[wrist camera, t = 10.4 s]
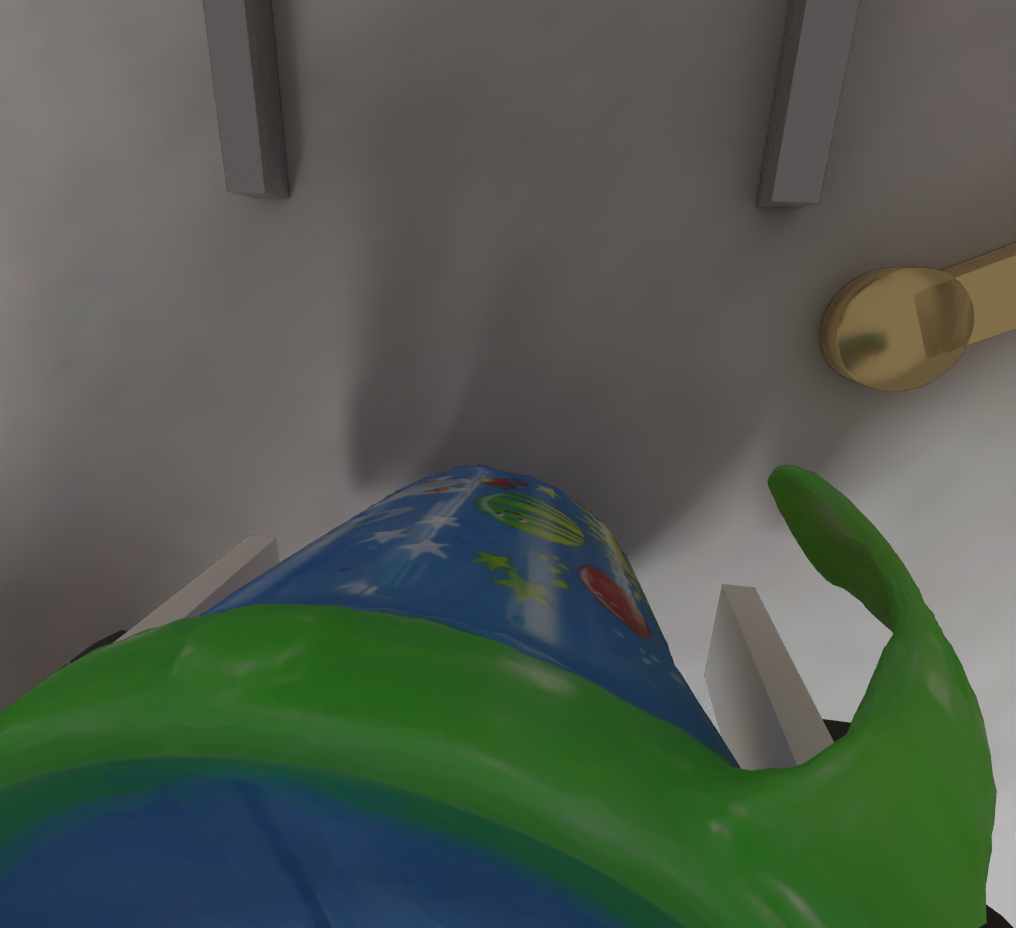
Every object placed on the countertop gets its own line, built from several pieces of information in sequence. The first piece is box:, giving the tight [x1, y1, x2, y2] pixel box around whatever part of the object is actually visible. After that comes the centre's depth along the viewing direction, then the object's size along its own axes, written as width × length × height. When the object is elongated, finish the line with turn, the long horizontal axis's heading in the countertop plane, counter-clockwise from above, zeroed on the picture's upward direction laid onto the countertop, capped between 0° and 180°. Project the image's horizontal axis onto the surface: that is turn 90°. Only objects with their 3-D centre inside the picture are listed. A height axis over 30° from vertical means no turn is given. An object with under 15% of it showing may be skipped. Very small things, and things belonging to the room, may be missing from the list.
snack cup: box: [0, 465, 997, 928], centre depth 10 cm, size 16×10×10 cm
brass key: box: [820, 242, 1016, 392], centre depth 13 cm, size 7×3×1 cm, turn 113°
